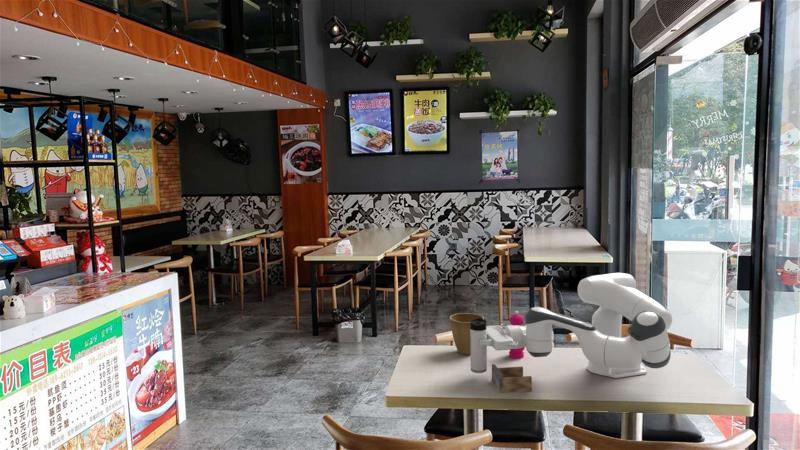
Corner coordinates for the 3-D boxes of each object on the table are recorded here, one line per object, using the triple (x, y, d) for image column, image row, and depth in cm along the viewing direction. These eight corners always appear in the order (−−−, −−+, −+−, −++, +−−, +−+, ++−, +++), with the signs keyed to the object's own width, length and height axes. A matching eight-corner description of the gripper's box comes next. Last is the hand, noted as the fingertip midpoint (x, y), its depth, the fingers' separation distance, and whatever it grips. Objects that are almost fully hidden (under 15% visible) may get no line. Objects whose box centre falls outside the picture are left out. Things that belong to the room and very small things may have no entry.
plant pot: (447, 357, 261) (447, 321, 259) (452, 346, 276) (452, 312, 274) (482, 359, 258) (482, 322, 256) (485, 348, 272) (485, 313, 271)
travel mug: (489, 368, 236) (488, 318, 234) (484, 374, 230) (483, 323, 228) (473, 366, 239) (473, 317, 237) (468, 372, 233) (468, 321, 231)
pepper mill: (525, 359, 257) (525, 313, 254) (507, 358, 258) (507, 312, 256) (524, 353, 264) (525, 309, 261) (508, 353, 265) (508, 308, 263)
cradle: (521, 379, 234) (522, 362, 233) (531, 391, 222) (531, 373, 221) (491, 381, 232) (491, 364, 232) (499, 392, 220) (499, 375, 220)
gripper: (520, 353, 225) (484, 355, 223) (503, 337, 245) (469, 339, 243) (520, 337, 224) (484, 339, 222) (503, 322, 245) (469, 324, 243)
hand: (476, 339), depth 233 cm, fingers closed on travel mug, 6 cm apart
